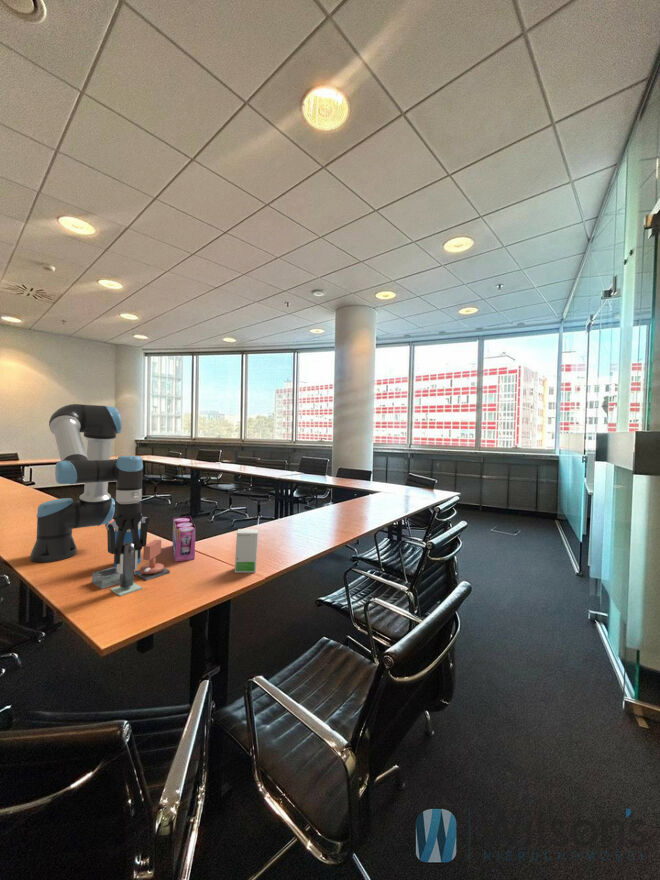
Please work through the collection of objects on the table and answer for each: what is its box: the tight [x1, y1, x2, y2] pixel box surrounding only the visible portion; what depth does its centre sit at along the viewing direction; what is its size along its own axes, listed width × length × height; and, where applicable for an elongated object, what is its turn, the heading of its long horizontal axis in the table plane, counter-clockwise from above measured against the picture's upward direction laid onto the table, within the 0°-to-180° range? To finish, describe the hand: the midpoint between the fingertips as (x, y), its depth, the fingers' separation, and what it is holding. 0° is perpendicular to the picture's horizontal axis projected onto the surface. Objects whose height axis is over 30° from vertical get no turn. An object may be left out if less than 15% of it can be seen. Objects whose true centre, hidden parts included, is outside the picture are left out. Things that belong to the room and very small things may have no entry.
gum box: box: [172, 515, 196, 562], centre depth 153 cm, size 24×8×14 cm, turn 27°
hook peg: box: [119, 542, 135, 587], centre depth 116 cm, size 6×4×14 cm
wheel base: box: [134, 567, 171, 581], centre depth 130 cm, size 9×9×1 cm
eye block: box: [91, 566, 120, 590], centre depth 121 cm, size 8×8×4 cm
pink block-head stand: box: [139, 539, 165, 574], centre depth 129 cm, size 8×8×10 cm
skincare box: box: [234, 528, 259, 574], centre depth 136 cm, size 8×7×16 cm
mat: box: [110, 582, 143, 597], centre depth 116 cm, size 7×7×1 cm
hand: (127, 570), depth 116 cm, fingers closed on hook peg, 4 cm apart
